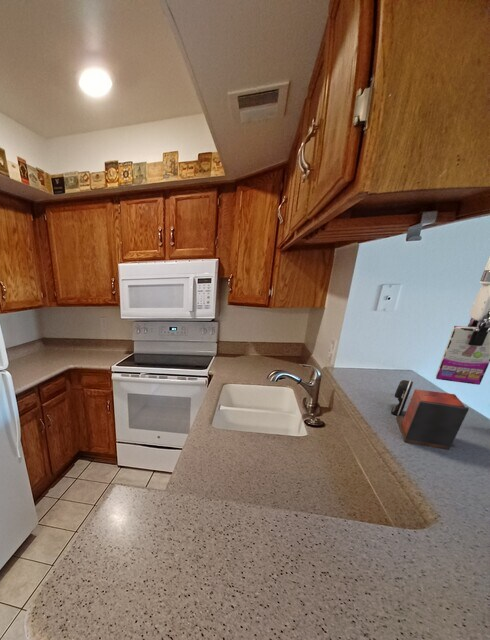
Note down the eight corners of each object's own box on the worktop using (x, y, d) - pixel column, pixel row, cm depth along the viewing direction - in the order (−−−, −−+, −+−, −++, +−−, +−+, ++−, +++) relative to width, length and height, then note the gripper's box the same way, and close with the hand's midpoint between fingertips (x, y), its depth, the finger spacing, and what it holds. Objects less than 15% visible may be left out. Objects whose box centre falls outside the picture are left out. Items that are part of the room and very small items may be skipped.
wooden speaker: (434, 424, 108) (450, 387, 102) (449, 450, 94) (469, 408, 88) (396, 418, 112) (409, 382, 106) (404, 442, 98) (420, 402, 92)
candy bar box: (477, 381, 104) (501, 328, 97) (479, 385, 101) (504, 330, 93) (434, 375, 110) (453, 324, 103) (434, 379, 107) (455, 327, 99)
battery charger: (390, 407, 120) (400, 377, 115) (402, 410, 118) (413, 380, 113) (387, 414, 116) (398, 383, 110) (400, 416, 114) (412, 385, 108)
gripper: (531, 279, 83) (498, 350, 92) (504, 277, 97) (477, 339, 105) (493, 279, 86) (464, 348, 95) (472, 276, 100) (449, 337, 108)
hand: (471, 342), depth 100 cm, fingers closed on candy bar box, 5 cm apart
